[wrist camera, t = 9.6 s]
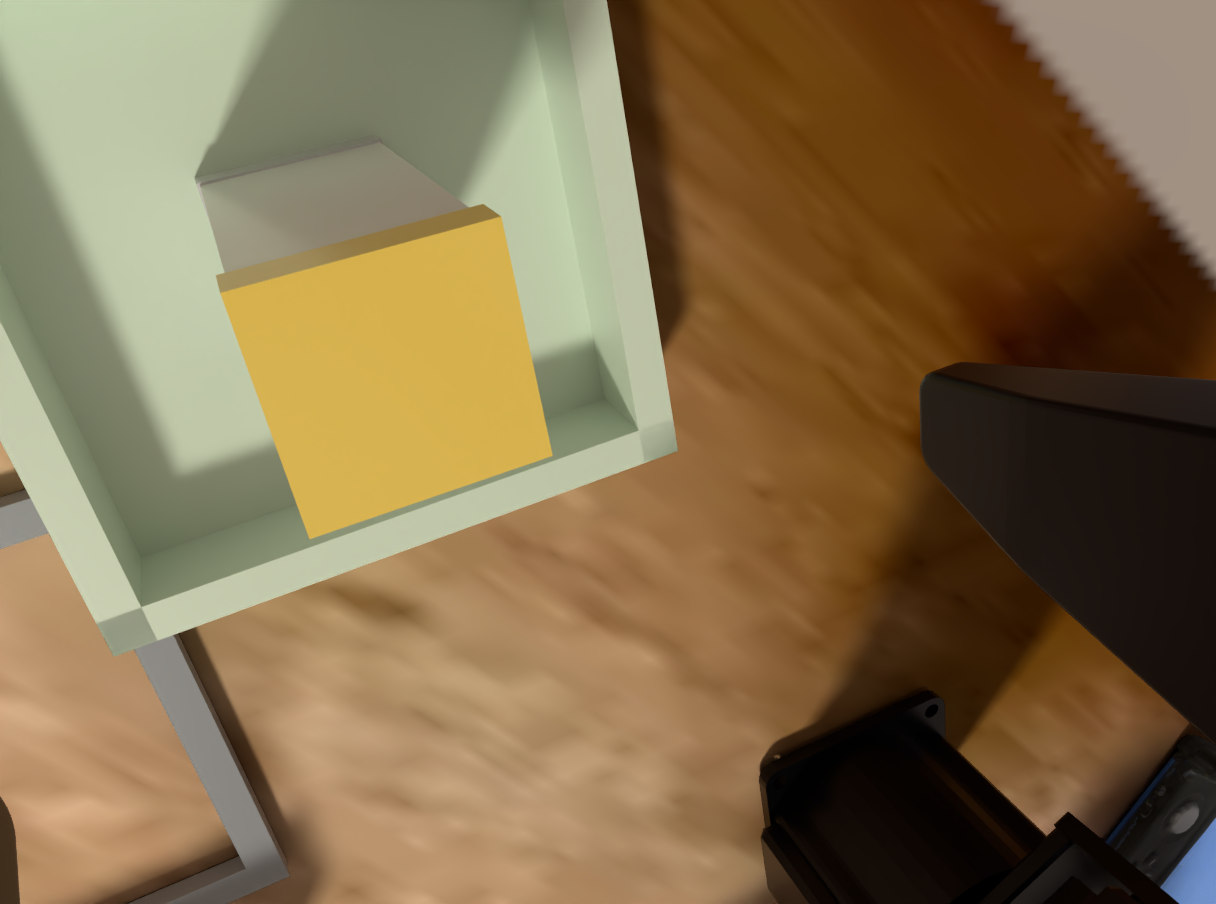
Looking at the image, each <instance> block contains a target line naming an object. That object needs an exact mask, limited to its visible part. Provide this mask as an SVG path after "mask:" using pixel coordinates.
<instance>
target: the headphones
mask: <svg viewBox="0 0 1216 904" xmlns="http://www.w3.org/2000/svg"><path fill="white" fill-rule="evenodd" d="M47 533H49V532H48V530H47V529H46V527H45V525H44V523H43V521H42V519H41V517H40V515H39V513H38V511H37V510H36V508H35V506H34V504H33V502H32V500H31V498H30V496H29V494H28V492H27V490H26V489H25V490H22V491H19V492H15V493H12V494H9V495H6V496H3V497H0V549H2V548H5V547H8V546H11V545H14V544H17V543H20V542H23V541H26V540H29V539H32V538H35V537H38V536H41V535H44V534H47ZM134 650H135V652H136V654H137V656H138V658H139V660H140V662H141V664H142V666H143V668H144V670H145V672H146V674H147V676H148V678H149V680H150V682H151V684H152V685H153V687H154V689H155V691H156V693H157V695H158V697H159V699H160V701H161V703H162V705H163V707H164V709H165V711H166V713H167V715H168V717H169V719H170V721H171V723H172V725H173V727H174V729H175V731H176V733H177V735H178V736H179V738H180V740H181V742H182V744H183V746H184V748H185V750H186V752H187V754H188V756H189V758H190V760H191V762H192V764H193V766H194V768H195V770H196V772H197V774H198V776H199V778H200V780H201V782H202V784H203V785H204V787H205V789H206V791H207V793H208V795H209V797H210V799H211V801H212V803H213V805H214V807H215V809H216V811H217V813H218V815H219V817H220V819H221V821H222V823H223V825H224V827H225V829H226V831H227V833H228V835H229V836H230V838H231V840H232V842H233V844H234V846H235V848H236V850H237V852H238V854H239V856H238V857H236V858H233V859H231V860H229V861H226V862H224V863H222V864H219V865H217V866H215V867H212V868H210V869H208V870H205V871H203V872H201V873H198V874H196V875H194V876H191V877H189V878H187V879H184V880H182V881H180V882H177V883H175V884H172V885H170V886H168V887H165V888H163V889H161V890H158V891H156V892H154V893H151V894H149V895H147V896H144V897H142V898H140V899H137V900H135V901H133V902H130V903H128V904H228V903H230V902H232V901H235V900H237V899H239V898H241V897H244V896H246V895H248V894H251V893H253V892H255V891H257V890H260V889H262V888H264V887H267V886H269V885H271V884H273V883H276V882H278V881H280V880H283V879H285V878H287V877H289V870H288V864H287V860H286V858H285V856H284V854H283V852H282V850H281V848H280V846H279V844H278V842H277V840H276V837H275V835H274V833H273V831H272V829H271V827H270V825H269V823H268V821H267V819H266V817H265V814H264V812H263V810H262V808H261V806H260V804H259V802H258V800H257V798H256V796H255V794H254V791H253V789H252V787H251V785H250V783H249V781H248V779H247V777H246V775H245V773H244V771H243V768H242V766H241V764H240V762H239V760H238V758H237V756H236V754H235V752H234V750H233V748H232V745H231V743H230V741H229V739H228V737H227V735H226V733H225V731H224V729H223V727H222V725H221V723H220V720H219V718H218V716H217V714H216V712H215V710H214V708H213V706H212V704H211V702H210V700H209V697H208V695H207V693H206V691H205V689H204V687H203V685H202V683H201V681H200V679H199V677H198V674H197V672H196V670H195V668H194V666H193V664H192V662H191V660H190V658H189V656H188V654H187V651H186V649H185V647H184V645H183V643H182V641H181V639H180V637H179V635H178V633H177V634H175V635H172V636H169V637H166V638H164V639H161V640H158V641H155V642H153V643H150V644H147V645H145V646H142V647H139V648H136V649H134Z"/></svg>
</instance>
